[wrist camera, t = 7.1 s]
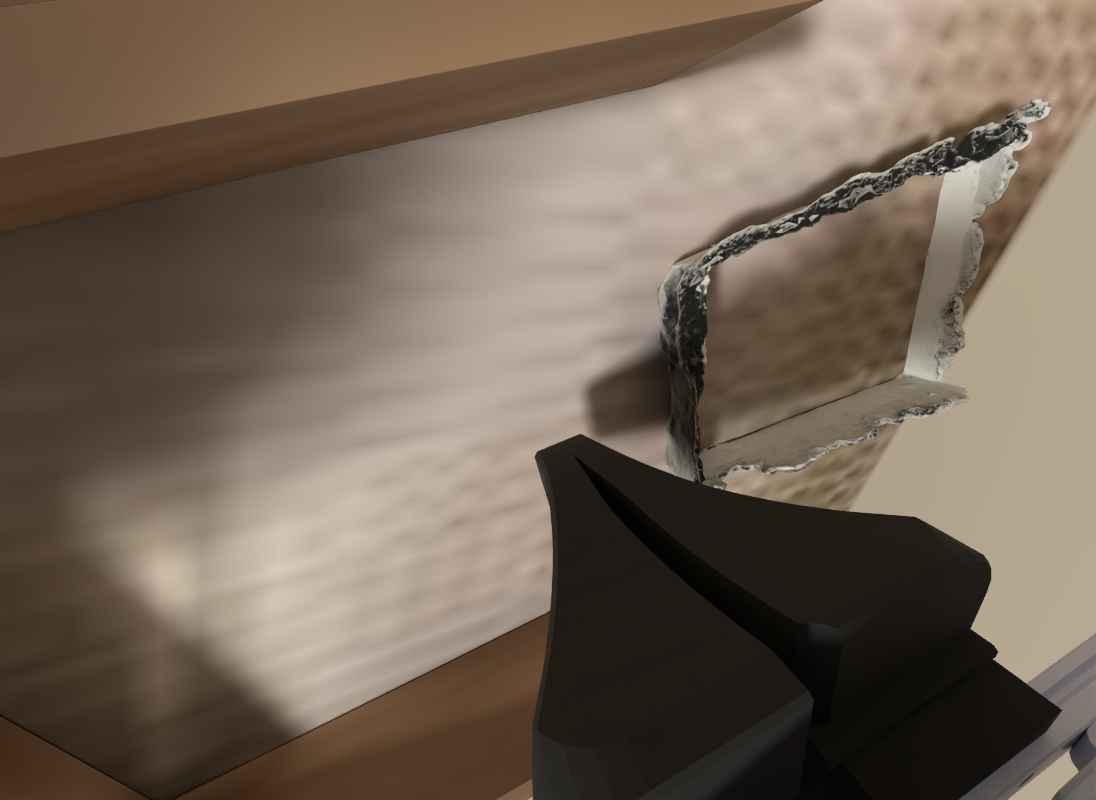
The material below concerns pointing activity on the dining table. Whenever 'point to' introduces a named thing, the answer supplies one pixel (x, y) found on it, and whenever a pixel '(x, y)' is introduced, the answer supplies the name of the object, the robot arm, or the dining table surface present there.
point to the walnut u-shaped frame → (291, 140)
